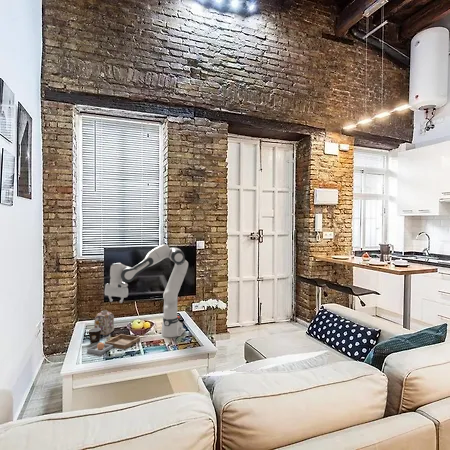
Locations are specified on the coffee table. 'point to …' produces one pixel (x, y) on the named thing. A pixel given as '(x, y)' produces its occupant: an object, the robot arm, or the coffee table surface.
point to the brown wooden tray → (123, 341)
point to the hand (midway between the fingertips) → (116, 302)
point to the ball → (100, 346)
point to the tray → (98, 352)
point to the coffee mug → (94, 335)
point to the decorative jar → (104, 322)
